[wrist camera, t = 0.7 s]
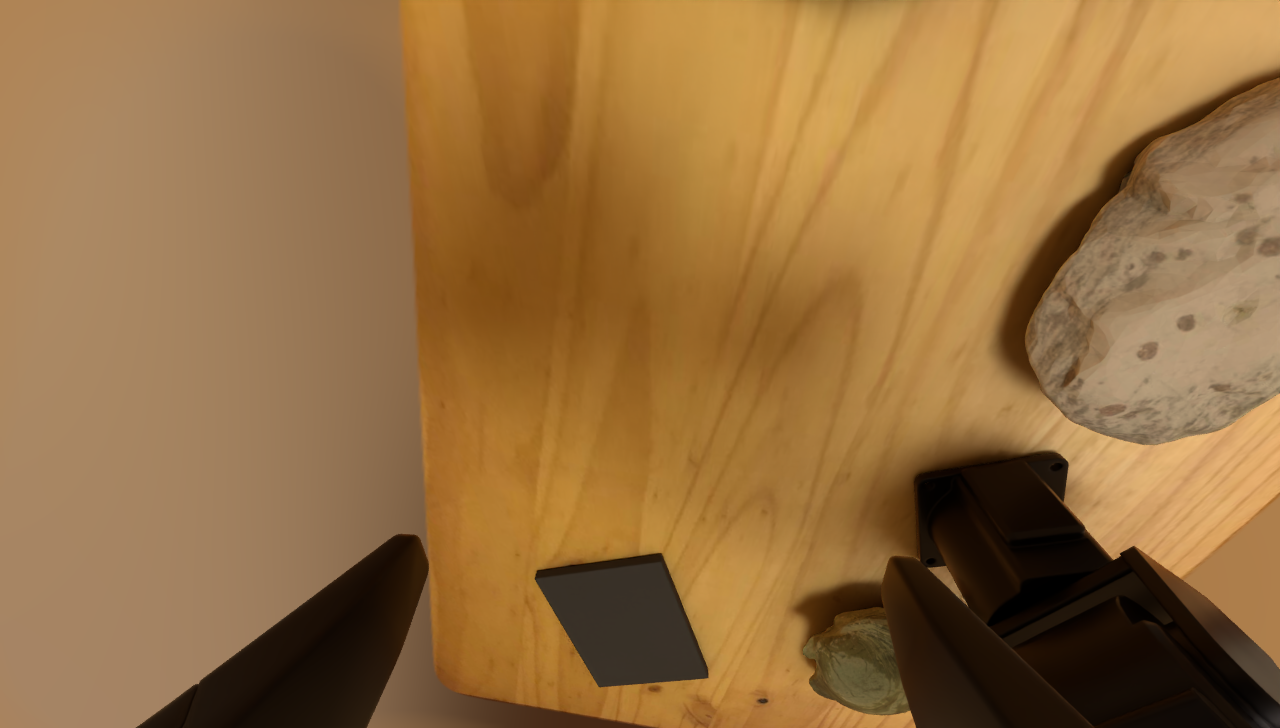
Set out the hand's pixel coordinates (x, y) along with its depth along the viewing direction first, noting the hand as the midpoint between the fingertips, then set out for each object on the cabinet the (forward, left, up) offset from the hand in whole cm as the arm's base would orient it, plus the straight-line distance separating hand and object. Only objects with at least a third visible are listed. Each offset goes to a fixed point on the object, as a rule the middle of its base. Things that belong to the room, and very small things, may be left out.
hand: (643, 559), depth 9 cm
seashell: (-25, -6, -14) cm, 29 cm away
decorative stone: (-3, -19, -14) cm, 23 cm away
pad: (-21, +9, -13) cm, 26 cm away
